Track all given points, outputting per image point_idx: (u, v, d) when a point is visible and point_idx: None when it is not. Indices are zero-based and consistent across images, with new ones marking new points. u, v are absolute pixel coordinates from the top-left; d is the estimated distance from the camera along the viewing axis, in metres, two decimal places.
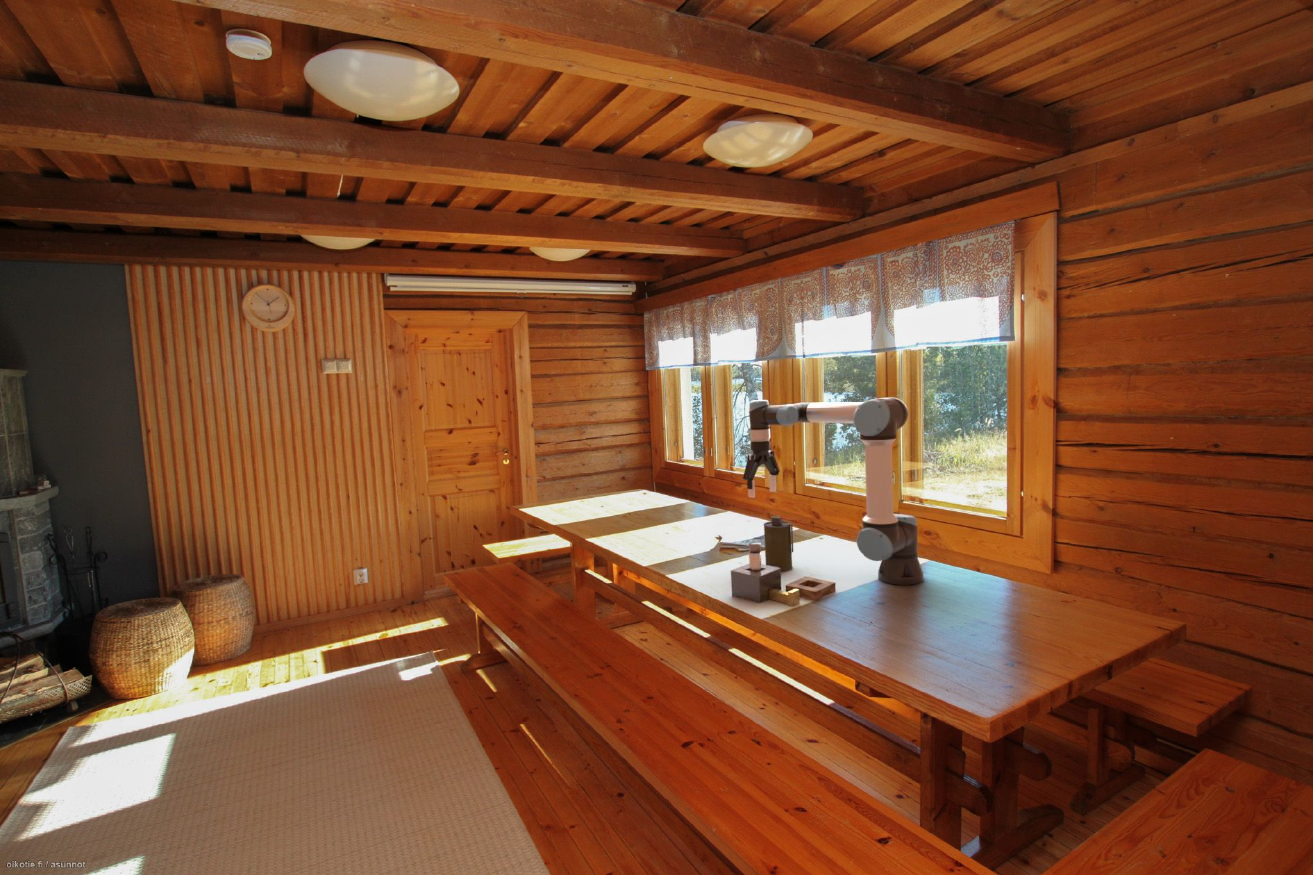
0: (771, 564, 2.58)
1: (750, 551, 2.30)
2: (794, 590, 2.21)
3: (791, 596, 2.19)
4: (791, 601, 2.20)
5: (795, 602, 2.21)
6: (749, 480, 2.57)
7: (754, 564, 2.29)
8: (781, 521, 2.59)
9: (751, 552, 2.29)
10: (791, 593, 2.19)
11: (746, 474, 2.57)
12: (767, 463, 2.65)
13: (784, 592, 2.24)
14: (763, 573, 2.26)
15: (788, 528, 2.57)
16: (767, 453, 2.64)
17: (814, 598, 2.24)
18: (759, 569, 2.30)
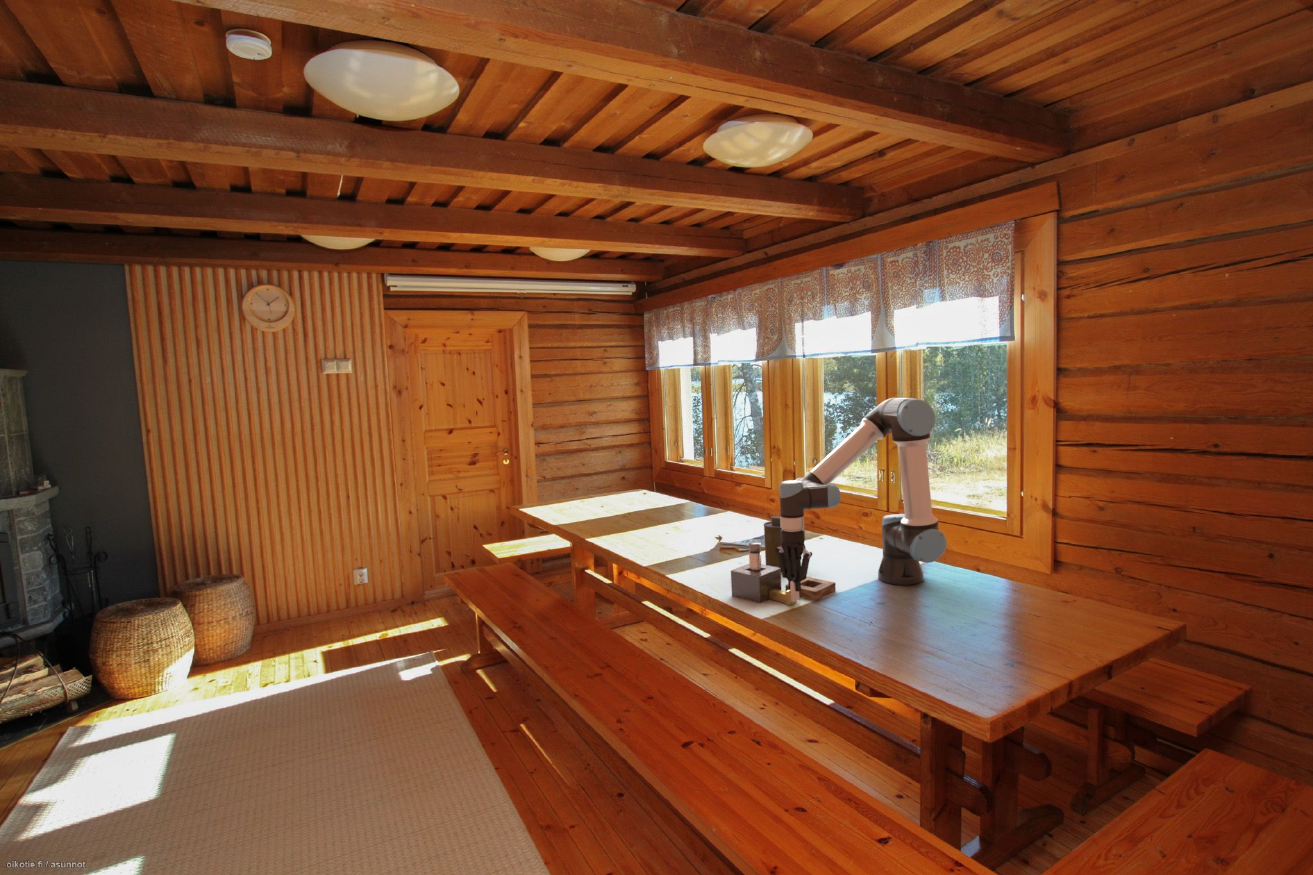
0: (771, 564, 2.58)
1: (750, 551, 2.30)
2: None
3: (788, 595, 2.20)
4: (788, 600, 2.20)
5: (792, 601, 2.21)
6: (787, 578, 2.21)
7: (754, 564, 2.29)
8: None
9: (751, 552, 2.29)
10: (788, 592, 2.20)
11: None
12: None
13: (781, 591, 2.25)
14: (763, 573, 2.26)
15: None
16: (799, 547, 2.16)
17: (814, 598, 2.24)
18: (759, 569, 2.30)
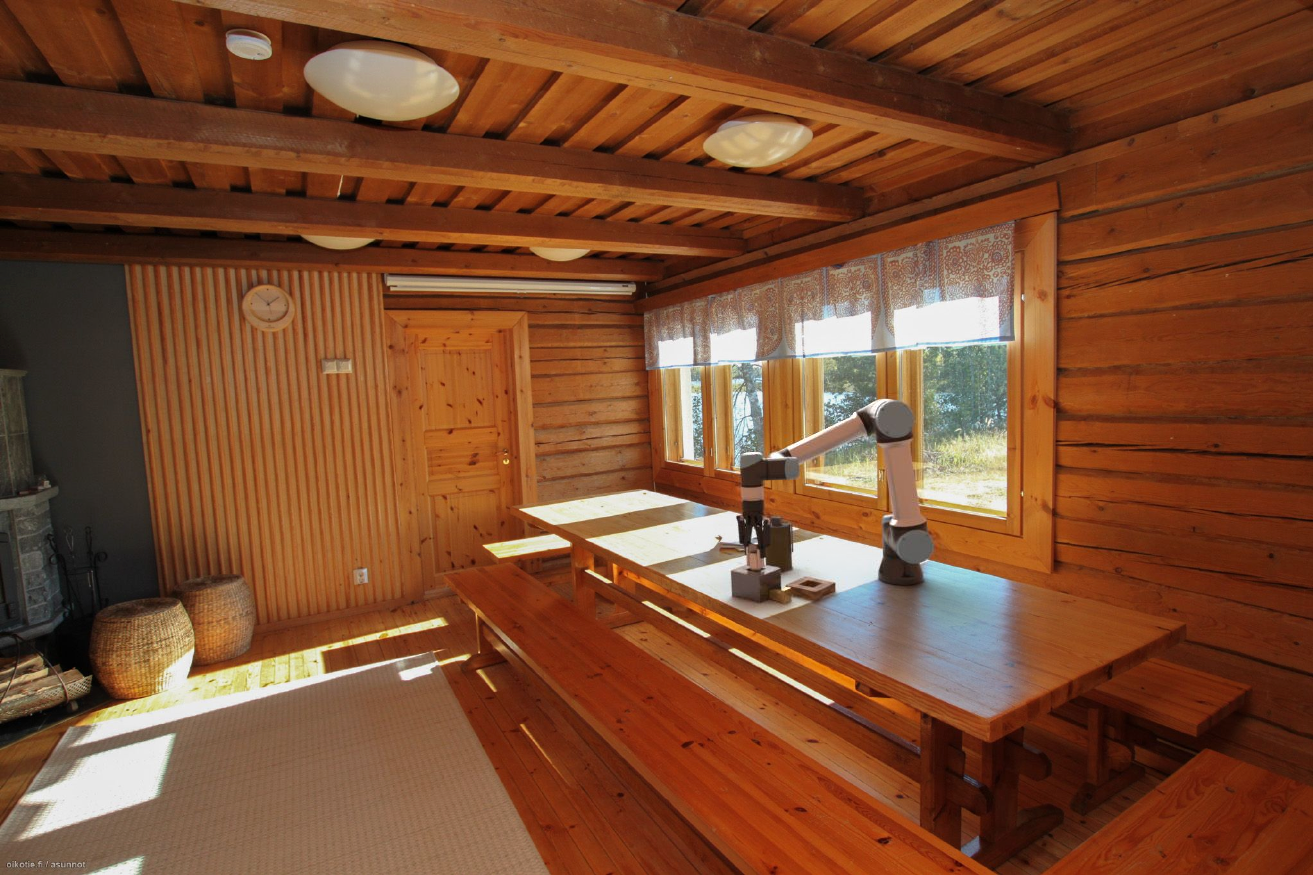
0: (771, 564, 2.58)
1: (750, 551, 2.30)
2: (786, 588, 2.23)
3: (783, 594, 2.22)
4: (783, 599, 2.22)
5: (787, 600, 2.23)
6: None
7: (754, 564, 2.29)
8: (781, 521, 2.59)
9: (751, 552, 2.29)
10: (783, 591, 2.22)
11: None
12: None
13: (776, 590, 2.26)
14: (763, 573, 2.26)
15: (788, 528, 2.57)
16: (758, 515, 2.27)
17: (814, 598, 2.24)
18: (759, 569, 2.30)
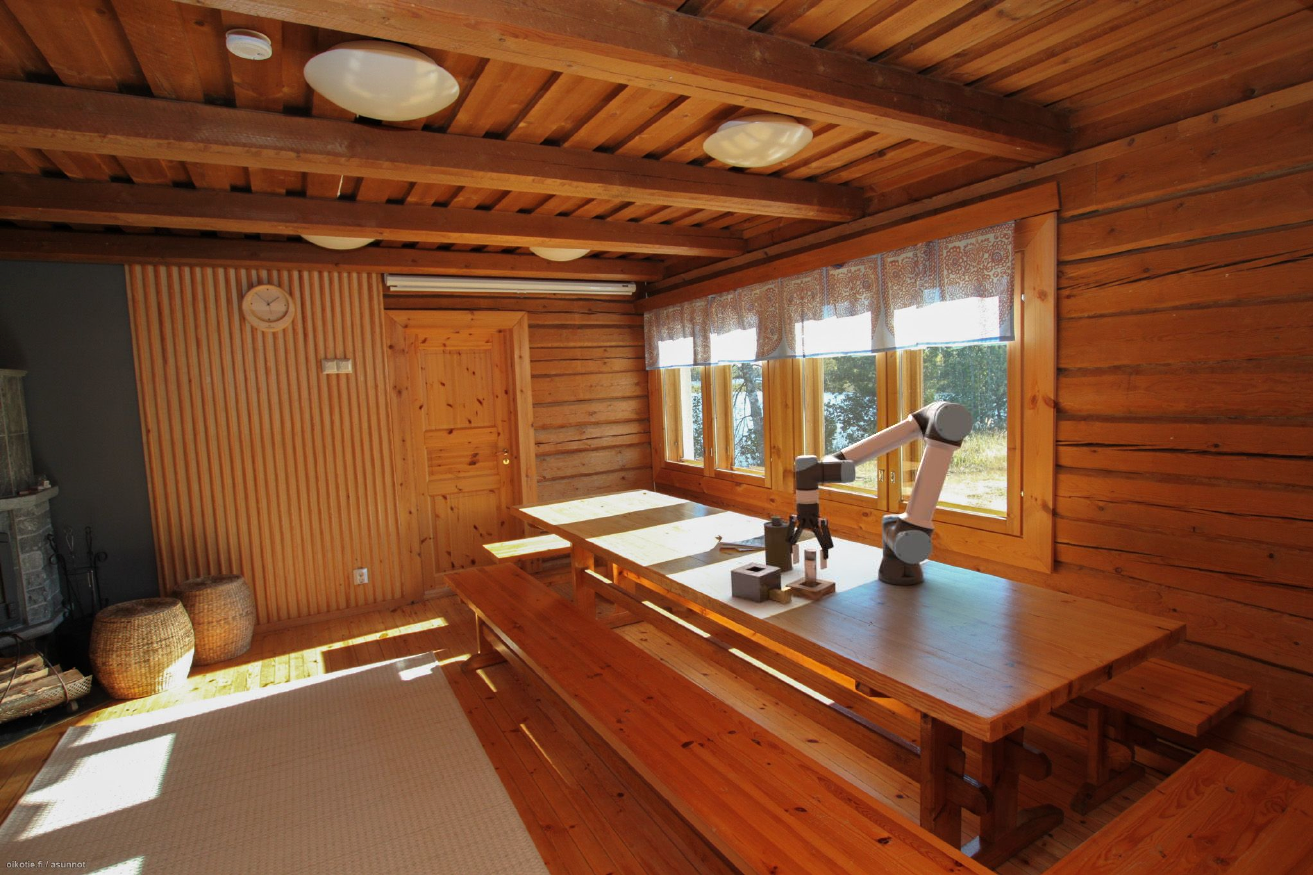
0: (771, 564, 2.58)
1: (806, 558, 2.30)
2: (786, 588, 2.23)
3: (783, 594, 2.22)
4: (783, 599, 2.22)
5: (787, 600, 2.23)
6: None
7: (810, 571, 2.29)
8: (781, 521, 2.59)
9: (807, 559, 2.29)
10: (783, 591, 2.22)
11: None
12: None
13: (776, 590, 2.26)
14: (763, 573, 2.26)
15: None
16: (813, 518, 2.27)
17: (814, 598, 2.24)
18: (814, 576, 2.30)
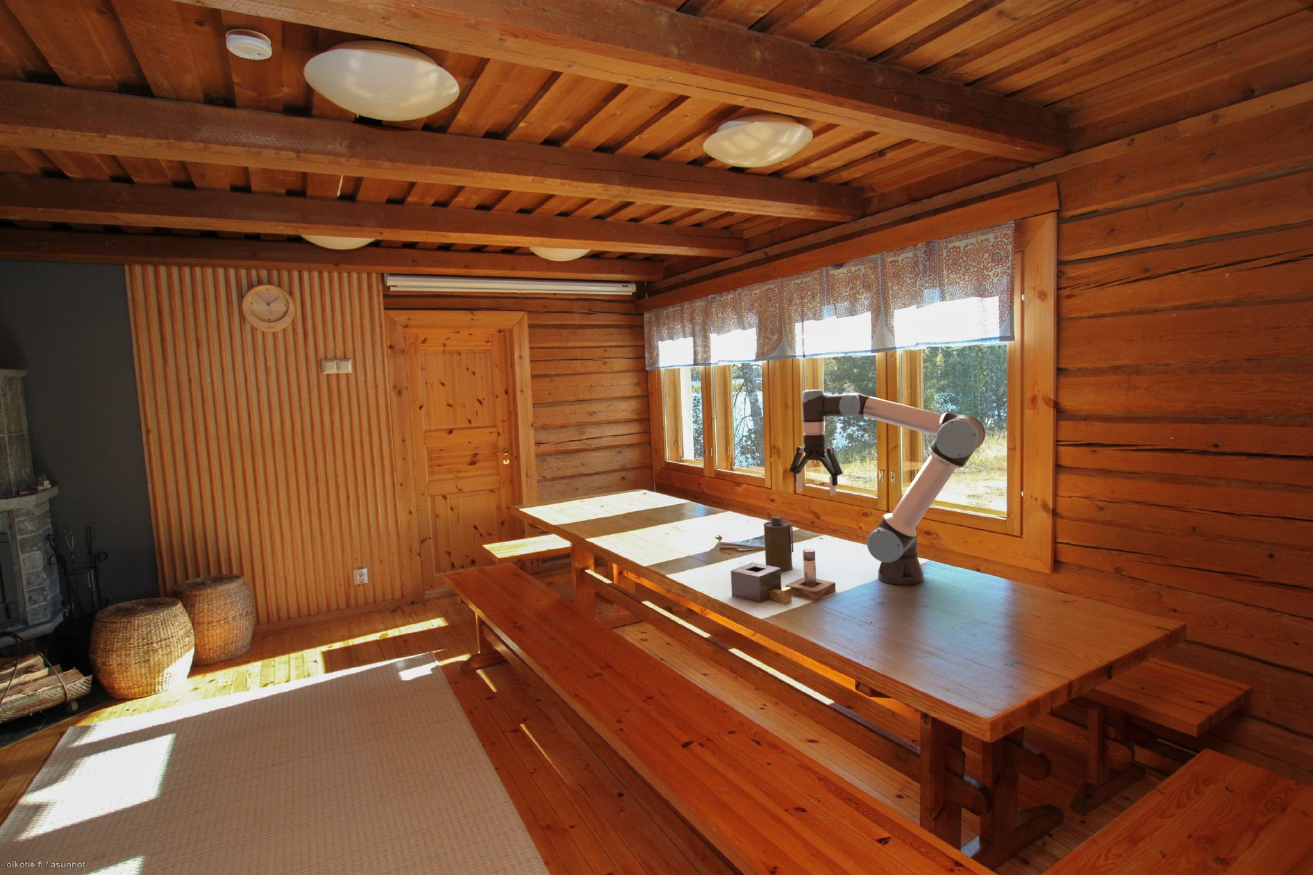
0: (771, 564, 2.58)
1: (805, 558, 2.30)
2: (786, 588, 2.23)
3: (783, 594, 2.22)
4: (783, 599, 2.22)
5: (787, 600, 2.23)
6: (793, 472, 2.47)
7: (809, 571, 2.29)
8: (781, 521, 2.59)
9: (806, 559, 2.29)
10: (783, 591, 2.22)
11: None
12: None
13: (776, 590, 2.26)
14: (763, 573, 2.26)
15: (788, 528, 2.57)
16: (819, 449, 2.37)
17: (814, 598, 2.24)
18: (814, 576, 2.30)
